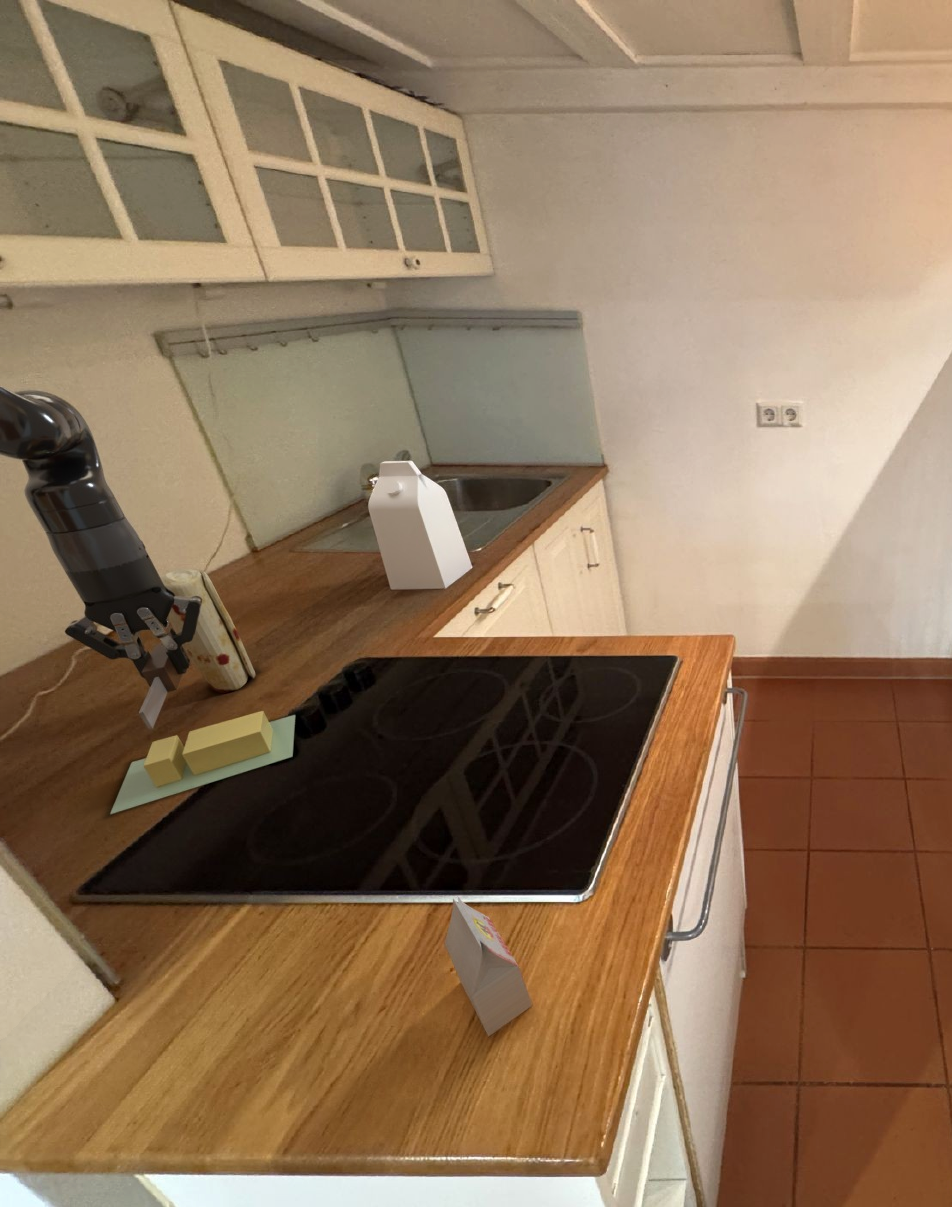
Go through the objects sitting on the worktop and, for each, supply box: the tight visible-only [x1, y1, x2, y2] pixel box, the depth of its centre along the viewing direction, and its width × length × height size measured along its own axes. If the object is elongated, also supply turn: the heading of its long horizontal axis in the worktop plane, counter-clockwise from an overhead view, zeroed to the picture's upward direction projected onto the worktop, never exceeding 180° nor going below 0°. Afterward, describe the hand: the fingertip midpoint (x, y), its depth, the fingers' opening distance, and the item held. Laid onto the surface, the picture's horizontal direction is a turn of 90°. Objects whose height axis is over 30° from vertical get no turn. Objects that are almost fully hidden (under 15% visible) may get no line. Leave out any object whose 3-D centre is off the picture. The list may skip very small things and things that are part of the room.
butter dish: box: [109, 714, 296, 815], centre depth 88 cm, size 18×12×1 cm, turn 125°
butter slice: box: [143, 734, 187, 787], centre depth 85 cm, size 2×6×4 cm, turn 35°
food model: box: [160, 568, 256, 694], centre depth 103 cm, size 10×7×20 cm
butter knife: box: [138, 643, 183, 731], centre depth 86 cm, size 2×19×4 cm, turn 35°
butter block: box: [182, 710, 273, 775], centre depth 89 cm, size 8×6×4 cm
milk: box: [367, 460, 473, 591], centre depth 140 cm, size 12×12×26 cm
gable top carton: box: [444, 896, 533, 1037], centre depth 56 cm, size 4×7×10 cm, turn 44°
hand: (170, 674), depth 90 cm, fingers closed on butter knife, 2 cm apart
